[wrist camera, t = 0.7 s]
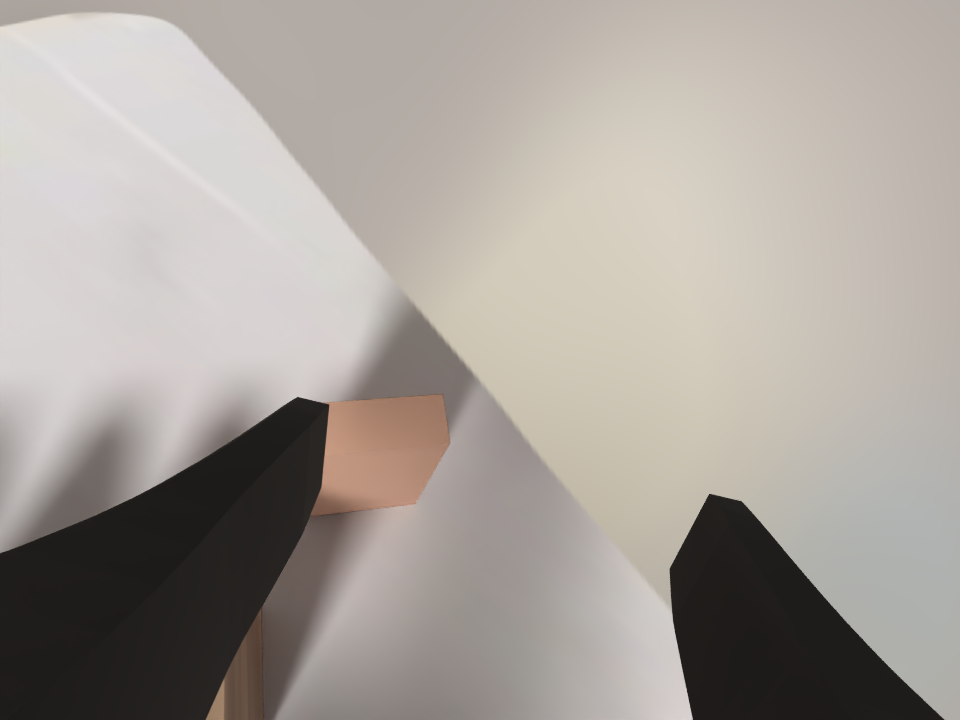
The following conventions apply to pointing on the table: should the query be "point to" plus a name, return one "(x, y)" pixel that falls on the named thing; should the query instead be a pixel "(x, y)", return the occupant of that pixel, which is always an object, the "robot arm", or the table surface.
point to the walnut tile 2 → (243, 681)
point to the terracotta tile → (380, 452)
